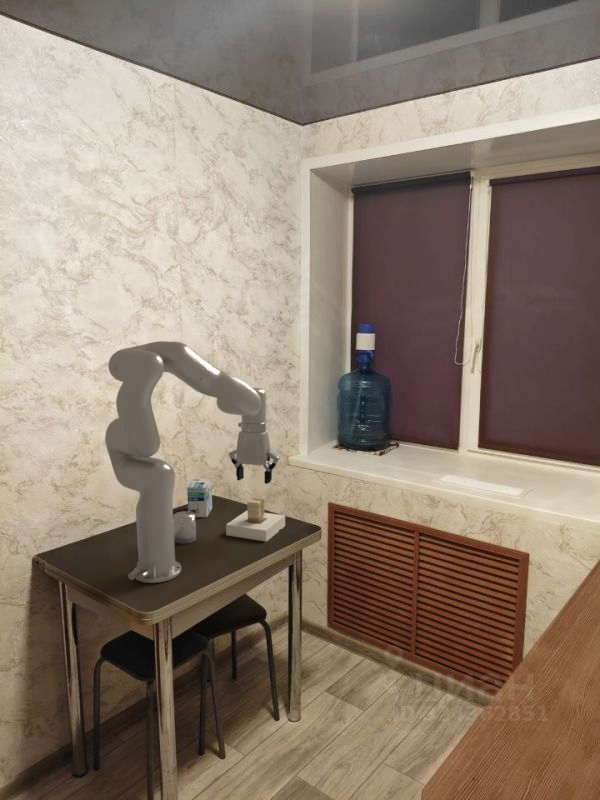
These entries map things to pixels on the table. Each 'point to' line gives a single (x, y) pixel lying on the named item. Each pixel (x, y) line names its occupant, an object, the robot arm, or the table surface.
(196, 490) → the light bulb box
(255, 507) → the square peg
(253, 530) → the socket block
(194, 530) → the clear glass cup
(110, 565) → the table surface
